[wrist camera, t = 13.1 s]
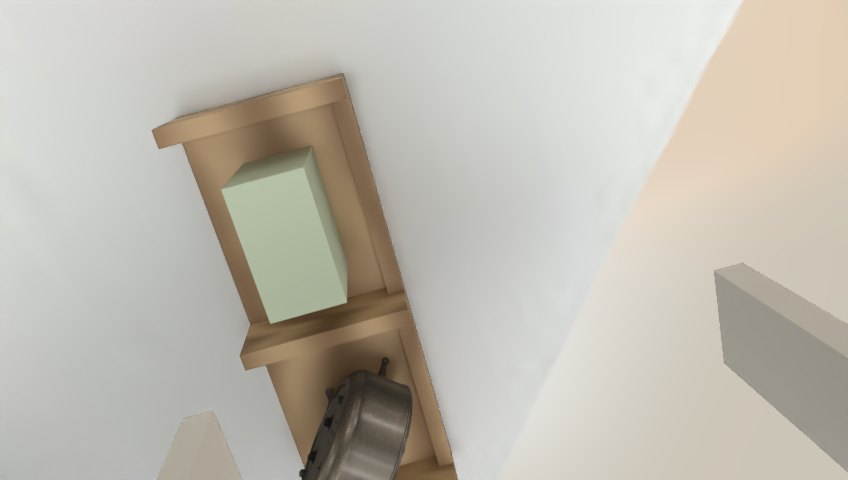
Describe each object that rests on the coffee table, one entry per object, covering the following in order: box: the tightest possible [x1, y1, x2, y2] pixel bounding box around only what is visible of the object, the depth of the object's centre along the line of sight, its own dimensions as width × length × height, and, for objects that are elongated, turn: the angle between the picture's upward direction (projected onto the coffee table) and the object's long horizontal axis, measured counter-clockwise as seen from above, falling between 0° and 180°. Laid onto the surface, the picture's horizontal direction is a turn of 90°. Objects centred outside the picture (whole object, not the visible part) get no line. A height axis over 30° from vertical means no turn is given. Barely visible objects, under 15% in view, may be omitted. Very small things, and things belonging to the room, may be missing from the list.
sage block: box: [221, 145, 348, 324], centre depth 43 cm, size 5×9×8 cm, turn 14°
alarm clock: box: [299, 358, 413, 480], centre depth 44 cm, size 11×5×16 cm, turn 155°
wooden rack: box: [152, 73, 458, 480], centre depth 47 cm, size 12×33×6 cm, turn 14°
